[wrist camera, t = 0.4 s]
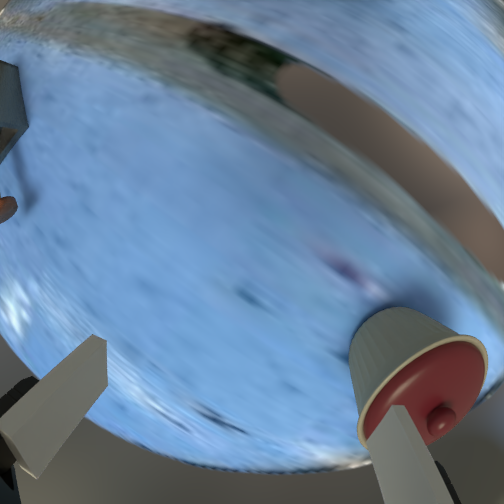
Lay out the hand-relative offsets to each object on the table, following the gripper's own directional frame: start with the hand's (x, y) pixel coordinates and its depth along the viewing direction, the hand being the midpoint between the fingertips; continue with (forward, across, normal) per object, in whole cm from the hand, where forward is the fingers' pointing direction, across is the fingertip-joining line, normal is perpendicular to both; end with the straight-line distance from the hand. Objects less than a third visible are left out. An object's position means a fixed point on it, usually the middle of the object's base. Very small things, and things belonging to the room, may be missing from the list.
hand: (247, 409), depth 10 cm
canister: (+28, +22, -8) cm, 36 cm away
